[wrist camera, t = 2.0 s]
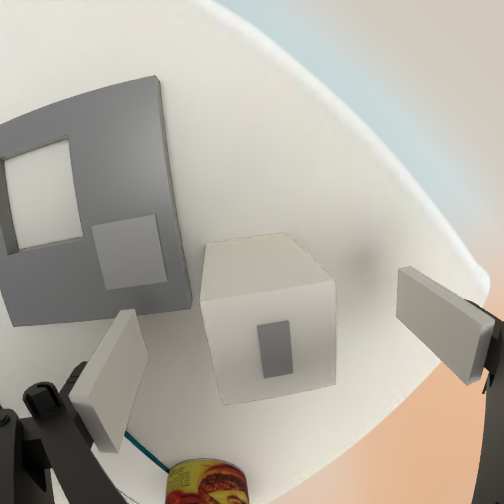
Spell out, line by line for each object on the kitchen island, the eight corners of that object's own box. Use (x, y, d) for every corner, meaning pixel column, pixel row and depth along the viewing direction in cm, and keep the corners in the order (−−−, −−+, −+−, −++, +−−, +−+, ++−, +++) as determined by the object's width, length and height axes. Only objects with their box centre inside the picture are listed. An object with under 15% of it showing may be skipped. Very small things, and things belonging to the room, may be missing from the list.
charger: (218, 316, 21) (222, 408, 13) (206, 243, 20) (199, 303, 11) (292, 304, 22) (337, 386, 13) (285, 232, 20) (336, 281, 12)
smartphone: (213, 499, 28) (115, 416, 23) (214, 505, 27) (112, 423, 22) (158, 511, 28) (60, 434, 23) (158, 517, 27) (57, 440, 23)
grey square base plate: (22, 318, 20) (11, 327, 18) (-15, 138, 16) (-29, 137, 14) (192, 299, 21) (190, 310, 19) (159, 81, 17) (154, 74, 16)
